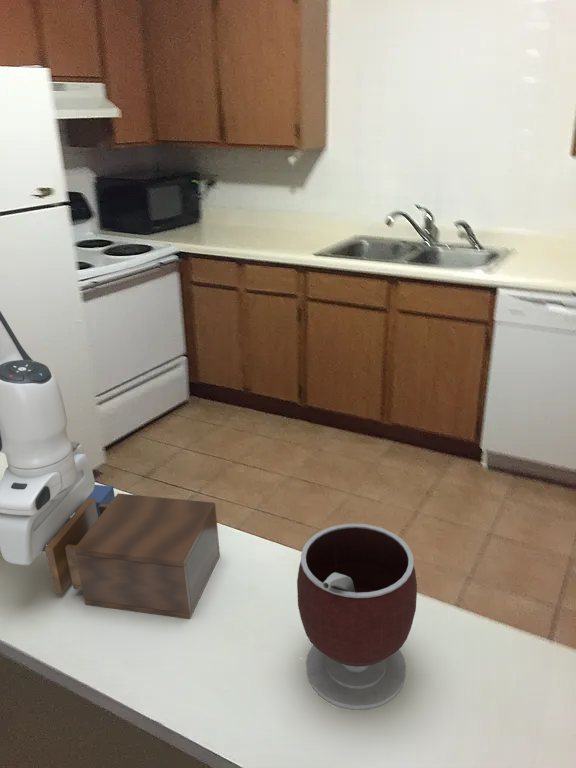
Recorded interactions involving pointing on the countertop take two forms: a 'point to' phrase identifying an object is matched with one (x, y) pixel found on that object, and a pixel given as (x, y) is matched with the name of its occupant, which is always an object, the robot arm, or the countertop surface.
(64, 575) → the drawer
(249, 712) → the countertop surface
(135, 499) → the cabinet
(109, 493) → the block
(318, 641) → the mate gourd
